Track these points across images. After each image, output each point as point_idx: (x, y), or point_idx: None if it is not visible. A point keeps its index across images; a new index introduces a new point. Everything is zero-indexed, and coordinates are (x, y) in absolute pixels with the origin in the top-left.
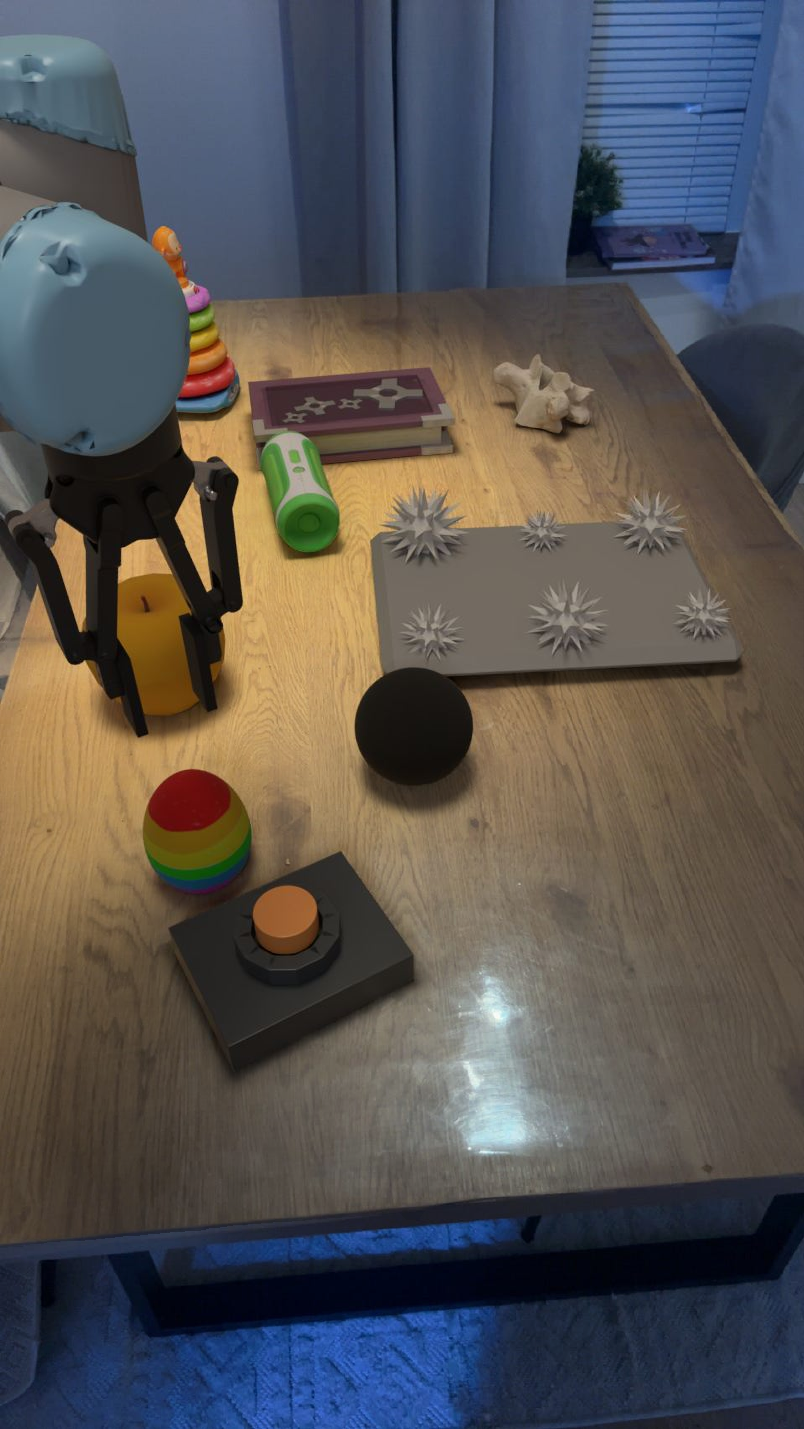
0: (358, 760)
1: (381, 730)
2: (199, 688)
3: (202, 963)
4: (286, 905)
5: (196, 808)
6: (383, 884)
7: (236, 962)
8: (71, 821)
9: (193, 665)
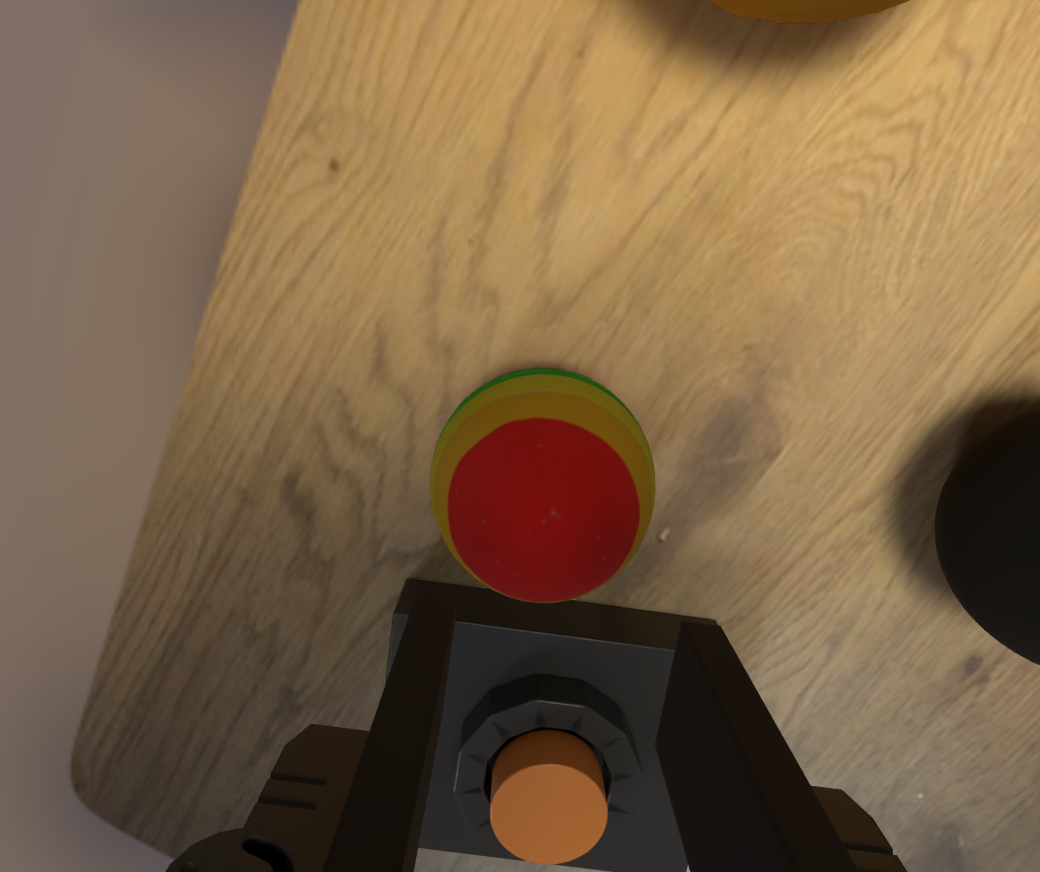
0: (941, 405)
1: (1029, 597)
2: (680, 760)
3: None
4: (557, 810)
5: (530, 590)
6: (757, 671)
7: (453, 737)
8: (382, 171)
9: (711, 816)
